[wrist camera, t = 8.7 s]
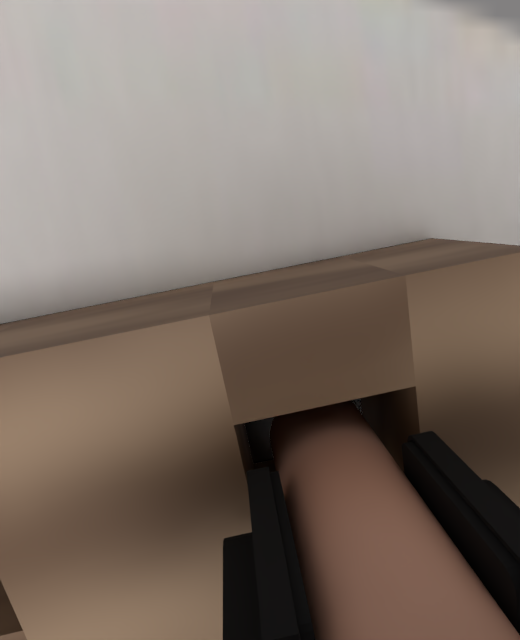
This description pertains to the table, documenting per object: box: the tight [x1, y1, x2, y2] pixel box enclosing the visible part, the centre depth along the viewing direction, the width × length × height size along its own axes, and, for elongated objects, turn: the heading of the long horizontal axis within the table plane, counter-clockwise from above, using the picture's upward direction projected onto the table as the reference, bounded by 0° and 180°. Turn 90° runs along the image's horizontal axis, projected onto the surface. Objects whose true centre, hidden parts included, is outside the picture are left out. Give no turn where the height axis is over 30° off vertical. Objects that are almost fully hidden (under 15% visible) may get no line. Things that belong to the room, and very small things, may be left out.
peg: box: [270, 400, 520, 640], centre depth 8 cm, size 3×3×10 cm
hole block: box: [0, 238, 520, 640], centre depth 12 cm, size 10×22×5 cm, turn 101°
